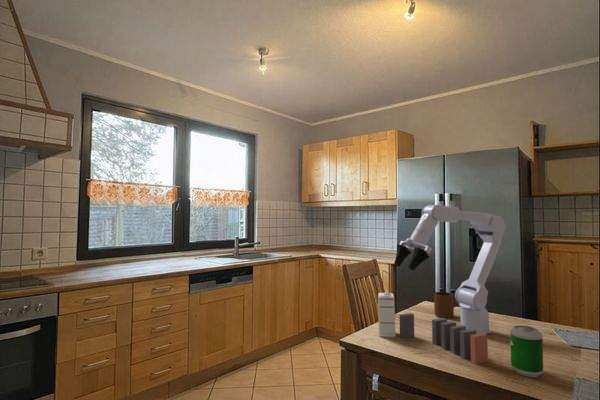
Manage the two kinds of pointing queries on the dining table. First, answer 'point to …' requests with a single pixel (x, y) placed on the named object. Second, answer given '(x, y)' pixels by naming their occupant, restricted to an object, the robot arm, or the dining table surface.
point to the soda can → (526, 351)
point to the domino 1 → (406, 325)
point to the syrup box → (386, 314)
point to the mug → (444, 304)
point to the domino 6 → (479, 348)
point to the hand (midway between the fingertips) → (403, 267)
